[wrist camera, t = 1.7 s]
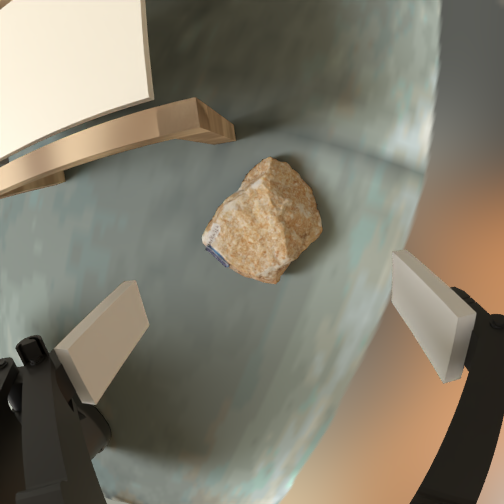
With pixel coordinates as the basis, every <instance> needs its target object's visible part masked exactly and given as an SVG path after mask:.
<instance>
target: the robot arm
mask: <svg viewBox="0 0 504 504" xmlns="http://www.w3.org/2000/svg"><path fill="white" fill-rule="evenodd" d="M391 302H392V303H393V305H394V306H395V307H396V309H397V311H398V312H399V314H400V315H401V317H402V318H403V320H404V321H405V323H406V324H407V325H408V327H409V329H410V330H411V332H412V333H413V335H414V337H415V338H416V340H417V341H418V343H419V344H420V346H421V347H422V349H423V351H424V352H425V354H426V356H427V357H428V359H429V361H430V362H431V364H432V365H433V367H434V369H435V370H436V372H437V373H438V375H439V377H440V379H441V381H442V382H443V383H447V382H451V381H454V380H457V379H460V378H461V375H462V372H463V369H464V365H465V367H466V368H467V370H468V371H469V374H468V377H467V380H466V383H465V386H464V389H463V392H462V395H461V398H460V400H459V404H458V406H457V409H456V412H455V414H454V416H453V419H452V421H451V424H450V426H449V428H448V431H447V433H446V435H445V438H444V440H443V442H442V444H441V446H440V449H439V451H438V453H437V455H436V457H435V459H434V461H433V463H432V465H431V467H430V469H429V471H428V473H427V475H426V476H425V478H424V480H423V482H422V484H421V485H420V487H419V489H418V491H417V492H416V494H415V496H414V497H413V499H412V501H411V502H410V504H476V503H477V500H478V498H479V495H480V493H481V490H482V487H483V484H484V482H485V479H486V476H487V474H488V471H489V468H490V465H491V461H492V458H493V455H494V452H495V448H496V444H497V441H498V437H499V433H500V429H501V425H502V421H503V416H504V315H501V314H491V315H490V314H489V313H487V312H486V311H485V310H484V309H483V308H482V307H481V306H480V305H479V304H478V303H477V302H476V303H475V301H474V300H473V299H472V298H470V296H469V295H468V294H467V293H466V292H464V291H463V290H460V289H458V288H456V287H449V286H447V285H446V284H445V283H444V282H443V281H442V280H441V279H440V278H439V277H437V276H436V275H435V274H434V273H433V272H432V271H431V270H430V269H428V268H427V267H426V266H425V265H424V264H422V262H420V261H419V260H418V259H417V258H416V257H414V256H413V255H412V254H411V253H409V252H408V251H407V250H399V251H392V299H391ZM148 327H149V322H148V319H147V316H146V313H145V309H144V306H143V303H142V300H141V296H140V293H139V289H138V286H137V282H136V280H133V281H124V282H123V283H122V284H120V285H119V286H118V287H117V288H116V289H115V290H114V291H113V292H112V293H111V294H110V295H109V296H107V297H106V298H105V299H104V300H103V301H102V302H101V303H100V304H99V305H98V306H97V307H96V308H95V309H94V310H93V311H92V312H91V313H90V314H88V315H87V316H86V317H85V318H84V319H83V320H82V321H81V322H80V323H79V324H78V325H77V326H76V327H75V328H74V329H73V330H72V331H71V332H70V333H69V334H68V335H67V336H66V337H65V338H64V339H63V340H62V341H61V342H60V343H59V344H58V345H57V346H56V347H55V348H54V349H53V350H52V351H51V352H50V353H48V351H47V349H46V347H45V344H44V342H43V340H42V338H41V336H39V335H34V336H30V337H27V338H25V339H23V340H22V341H20V342H19V343H18V344H17V346H16V350H17V352H18V354H19V356H20V358H21V360H22V362H23V364H24V366H22V367H17V366H16V364H15V363H14V361H13V359H12V358H10V357H9V358H4V359H3V358H2V359H0V504H107V503H106V500H105V498H104V495H103V493H102V490H101V487H100V485H99V482H98V479H97V476H96V474H95V471H94V468H93V465H92V462H91V460H92V459H93V458H94V457H95V456H96V454H97V453H100V452H102V451H103V450H104V449H105V448H106V446H107V444H108V442H109V440H110V438H111V431H110V428H109V426H108V424H107V422H106V421H105V419H104V418H103V416H102V415H101V414H100V413H99V412H98V410H97V409H96V408H95V407H94V406H93V405H96V404H97V403H98V401H99V400H100V398H101V397H102V395H103V394H104V392H105V390H106V389H107V387H108V386H109V384H110V383H111V381H112V380H113V378H114V377H115V375H116V374H117V372H118V371H119V369H120V368H121V366H122V365H123V363H124V362H125V360H126V359H127V357H128V356H129V354H130V353H131V352H132V350H133V349H134V347H135V346H136V344H137V343H138V341H139V340H140V338H141V337H142V335H143V334H144V333H145V331H146V330H147V328H148ZM8 401H9V403H10V404H11V406H12V407H13V409H12V410H11V409H10V407H9V404H8ZM91 404H93V405H91Z"/></svg>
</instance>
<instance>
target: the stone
mask: <svg viewBox="0 0 504 504" xmlns="http://www.w3.org/2000/svg"><path fill="white" fill-rule="evenodd" d="M316 207H317V204H316V202H315V198H314V196H313V193H312V189H311V187H310V186H309V185H307V184H306V183H305V182H304V181H303V180H302V178H301V177H300V175H299V174H298V172H296V171H295V170H293V169H292V168H291V166H290V165H289V164H288V163H287V162H279V161H278V160H277V159H273V158H272V157H268V158H266V159H262V161H261V162H260V163H258V164H257V165H255V167H254V168H253V169H251V170H250V171H249V173H248V174H246V176H245V179H244V180H243V181H242V185H241V187H240V188H239V190H238V191H237V192H235V193H234V194H232V195H231V196H230V197H228V198H227V199H226V200H224V203H222V204H221V205H220V206H219V207H218V209H217V210H216V213H215V215H214V216H213V219H211V221H210V222H209V223H208V225H207V227H206V229H205V232H204V233H203V235H202V240H203V244H204V245H205V246H206V250H207V251H208V252H210V253H211V254H212V255H213V256H214V257H215V258H216V259H218V261H220V262H221V263H222V264H223V265H224V266H225V267H228V268H230V269H232V270H234V271H236V272H237V273H239V274H241V275H242V276H245V277H248V278H254V279H256V280H259V281H261V282H265V283H270V284H276V283H277V282H279V280H280V276H281V275H282V274H283V272H284V271H285V270H286V269H287V267H288V266H289V264H290V263H291V262H292V261H294V260H296V259H297V258H298V257H299V255H300V254H301V253H302V252H303V251H304V250H306V249H307V247H308V246H309V245H310V243H312V242H314V241H315V240H316V239H317V238H318V237H319V235H320V234H321V233H322V231H323V228H322V223H321V217H320V213H319V211H318V210H317V208H316Z"/></svg>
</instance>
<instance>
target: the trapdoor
mask: <svg viewBox="0 0 504 504" xmlns="http://www.w3.org/2000/svg"><path fill="white" fill-rule="evenodd" d="M152 100H155V99H154V91H153V83H152V74H151V65H150V55H149V44H148V32H147V19H146V4H145V0H12V1H11V2H10V3H8V4H7V5H6V6H4V7H3V8H2V9H1V10H0V167H2V166H4V165H6V164H8V163H9V159H8V157H9V156H11V155H13V154H15V153H17V152H19V151H21V150H23V149H25V148H27V147H29V146H31V145H34V144H36V143H38V142H40V141H42V140H44V139H47V138H49V137H51V136H53V135H56V134H58V133H60V132H63V131H65V130H67V129H70V128H72V127H75V126H77V125H80V124H83V123H85V122H88V121H90V120H93V119H96V118H99V117H101V116H104V115H107V114H110V113H113V112H116V111H119V110H122V109H125V108H128V107H131V106H135V105H138V104H141V103H145V102H148V101H152Z"/></svg>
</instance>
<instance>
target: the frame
mask: <svg viewBox="0 0 504 504" xmlns="http://www.w3.org/2000/svg"><path fill="white" fill-rule="evenodd" d="M11 1H12V0H0V10H1V9H2V8H3V7H4V6H6V5H7V4H8V3H10V2H11ZM171 139H182V140H189V141H195V142H202V143H208V144H214V145H215V144H220V143H226V142H232V141H236V137H235V131H234V125H233V124H232V123H230V122H229V121H228V120H226V119H225V118H224V117H222V116H221V115H220V114H218V113H217V112H216V111H214V110H213V109H211V108H210V107H209V106H207V105H206V104H204V103H203V102H202V101H200V100H199V99H197V98H196V97H194V98H190V99H185V100H181V101H177V102H173V103H169V104H165V105H161V106H157V107H154V108H150V109H146V110H143V111H140V112H136V113H133V114H129V115H126V116H123V117H120V118H117V119H114V120H111V121H108V122H105V123H102V124H99V125H96V126H93V127H91V128H88V129H85V130H83V131H80V132H77V133H75V134H72V135H70V136H67V137H65V138H62V139H60V140H57V141H55V142H53V143H50V144H48V145H46V146H43V147H41V148H39V149H37V150H35V151H32V152H30V153H28V154H26V155H24V156H22V157H20V158H18V159H16V160H14V161H12V162H10V163H8V164H6V165H4V166H2V167H0V199H2V198H5V197H9V196H13V195H17V194H21V193H25V192H29V191H33V190H37V189H41V188H45V187H50V186H54V185H57V184H60V183H63V182H66V181H65V175H64V170H66V169H69V168H72V167H75V166H78V165H81V164H84V163H87V162H90V161H93V160H96V159H100V158H103V157H106V156H110V155H113V154H117V153H120V152H124V151H127V150H131V149H135V148H139V147H142V146H146V145H150V144H154V143H158V142H163V141H167V140H171Z"/></svg>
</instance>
